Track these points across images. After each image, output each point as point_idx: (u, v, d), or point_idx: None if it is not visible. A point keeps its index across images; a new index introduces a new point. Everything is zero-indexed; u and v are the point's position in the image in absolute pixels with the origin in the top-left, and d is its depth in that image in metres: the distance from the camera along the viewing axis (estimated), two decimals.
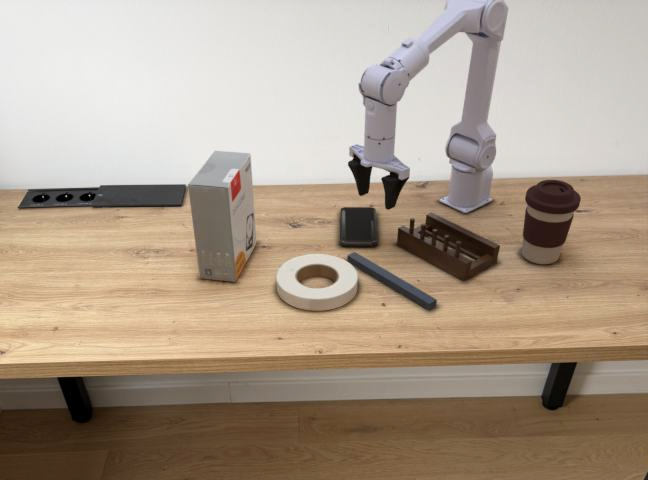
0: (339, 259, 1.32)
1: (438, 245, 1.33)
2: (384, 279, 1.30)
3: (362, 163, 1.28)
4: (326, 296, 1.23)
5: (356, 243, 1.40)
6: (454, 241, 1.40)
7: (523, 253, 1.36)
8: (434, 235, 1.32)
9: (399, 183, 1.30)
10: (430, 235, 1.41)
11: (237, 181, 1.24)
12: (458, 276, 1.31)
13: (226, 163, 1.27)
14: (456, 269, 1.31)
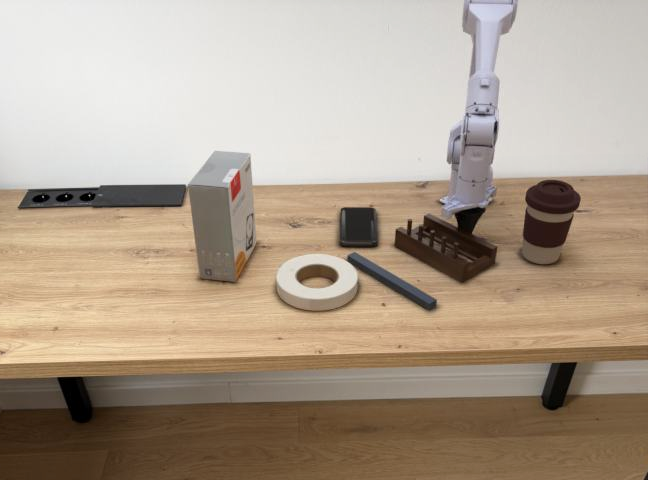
0: (339, 259, 1.32)
1: (436, 246, 1.33)
2: (384, 279, 1.30)
3: (485, 205, 1.32)
4: (326, 296, 1.23)
5: (356, 243, 1.40)
6: (452, 242, 1.40)
7: (523, 253, 1.36)
8: (431, 237, 1.32)
9: None
10: (428, 236, 1.40)
11: (237, 181, 1.24)
12: (456, 277, 1.31)
13: (226, 163, 1.27)
14: (454, 270, 1.30)
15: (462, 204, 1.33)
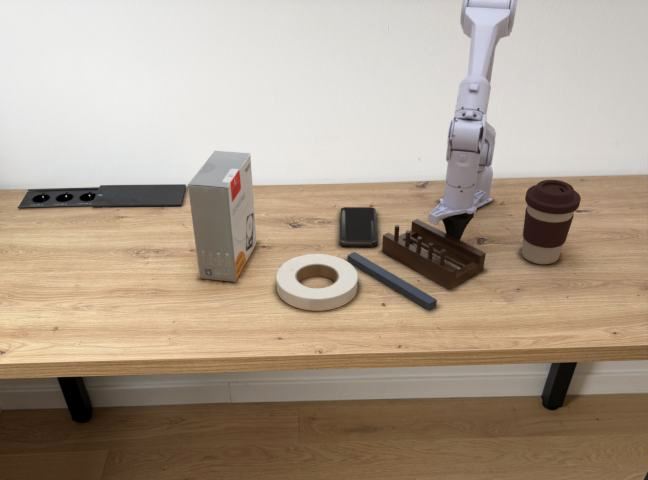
0: (339, 259, 1.32)
1: (423, 253, 1.31)
2: (384, 279, 1.30)
3: (473, 211, 1.30)
4: (326, 296, 1.23)
5: (356, 243, 1.40)
6: (440, 248, 1.38)
7: (523, 253, 1.36)
8: (418, 243, 1.30)
9: None
10: (415, 242, 1.39)
11: (237, 181, 1.24)
12: (443, 284, 1.29)
13: (226, 163, 1.27)
14: (441, 277, 1.29)
15: (450, 210, 1.31)
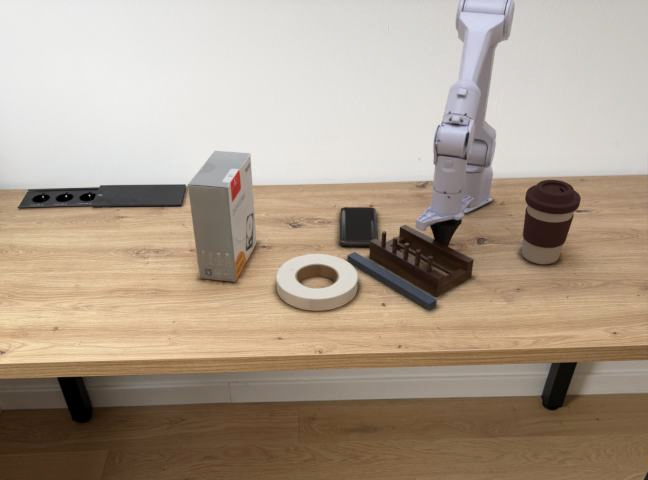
0: (339, 259, 1.32)
1: (410, 259, 1.29)
2: (384, 279, 1.30)
3: (460, 217, 1.28)
4: (326, 296, 1.23)
5: (356, 243, 1.40)
6: (428, 254, 1.36)
7: (523, 253, 1.36)
8: (405, 249, 1.28)
9: None
10: (403, 248, 1.37)
11: (237, 181, 1.24)
12: (430, 291, 1.27)
13: (226, 163, 1.27)
14: (428, 284, 1.27)
15: (437, 216, 1.29)
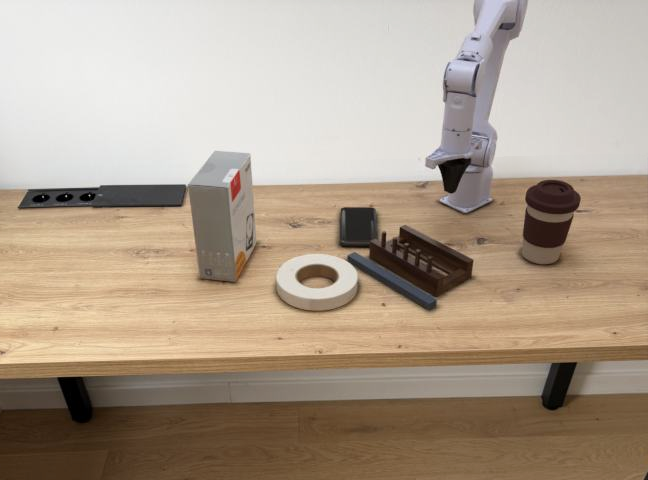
0: (339, 259, 1.32)
1: (410, 259, 1.29)
2: (384, 279, 1.30)
3: (469, 155, 1.31)
4: (326, 296, 1.23)
5: (356, 243, 1.40)
6: (428, 254, 1.36)
7: (523, 253, 1.36)
8: (405, 249, 1.28)
9: None
10: (403, 248, 1.37)
11: (237, 181, 1.24)
12: (430, 291, 1.27)
13: (226, 163, 1.27)
14: (428, 284, 1.27)
15: (447, 155, 1.32)
